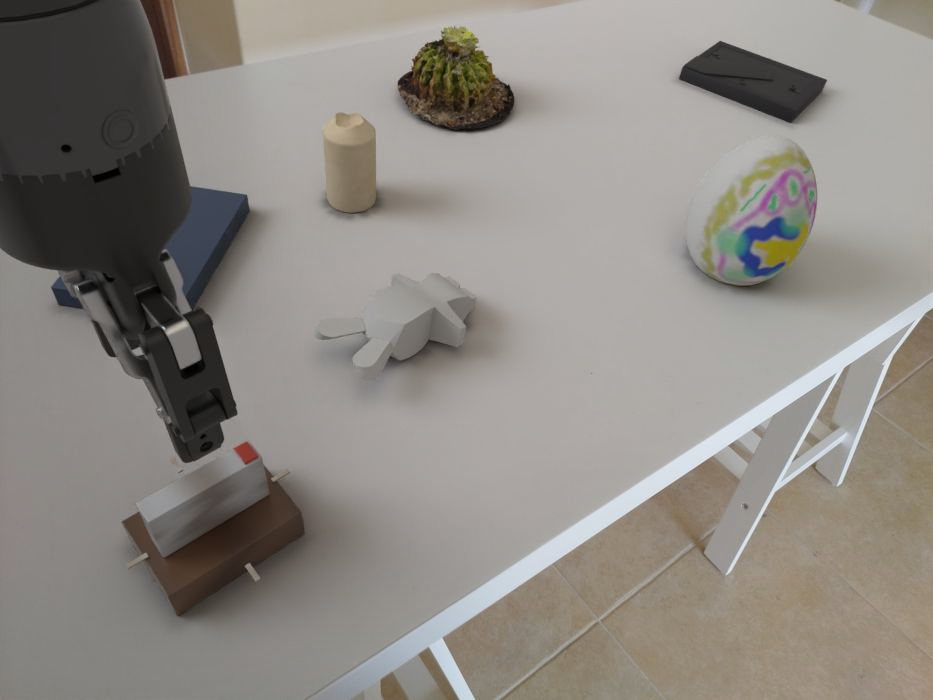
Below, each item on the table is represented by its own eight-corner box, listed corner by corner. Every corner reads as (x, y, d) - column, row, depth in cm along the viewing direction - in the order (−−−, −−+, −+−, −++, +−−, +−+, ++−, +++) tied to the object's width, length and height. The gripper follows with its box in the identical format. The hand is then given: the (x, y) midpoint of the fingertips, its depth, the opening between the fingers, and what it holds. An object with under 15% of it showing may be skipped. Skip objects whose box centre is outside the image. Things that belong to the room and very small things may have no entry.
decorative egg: (700, 303, 76) (753, 179, 65) (657, 230, 84) (697, 109, 73) (806, 295, 78) (874, 173, 67) (754, 224, 86) (807, 106, 75)
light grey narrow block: (163, 558, 49) (146, 520, 45) (151, 539, 50) (134, 501, 46) (270, 494, 53) (262, 455, 49) (257, 477, 54) (248, 438, 50)
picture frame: (678, 79, 111) (790, 123, 104) (683, 64, 109) (797, 108, 103) (715, 52, 119) (822, 91, 112) (720, 38, 117) (828, 77, 110)
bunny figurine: (501, 299, 68) (374, 362, 59) (490, 340, 71) (369, 406, 62) (432, 248, 72) (304, 299, 63) (425, 289, 75) (303, 344, 66)
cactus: (528, 129, 97) (540, 57, 90) (409, 135, 94) (411, 61, 87) (495, 68, 108) (503, 0, 101) (388, 71, 105) (388, 1, 98)
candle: (316, 200, 83) (310, 118, 75) (349, 179, 86) (346, 99, 79) (354, 219, 81) (351, 138, 74) (386, 197, 84) (386, 117, 77)
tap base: (179, 657, 48) (169, 638, 45) (101, 526, 53) (88, 503, 51) (338, 550, 54) (335, 527, 51) (251, 442, 59) (246, 418, 57)
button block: (179, 331, 67) (170, 299, 64) (52, 311, 68) (37, 278, 65) (250, 211, 80) (244, 180, 77) (143, 195, 81) (134, 163, 78)
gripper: (-116, 55, 28) (37, 347, 40) (17, 252, 21) (154, 534, 33) (84, 12, 31) (169, 291, 43) (254, 168, 25) (300, 449, 36)
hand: (162, 396), depth 38 cm, fingers open, 8 cm apart
